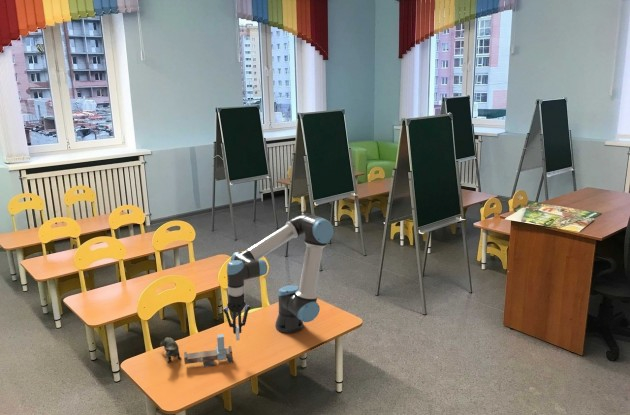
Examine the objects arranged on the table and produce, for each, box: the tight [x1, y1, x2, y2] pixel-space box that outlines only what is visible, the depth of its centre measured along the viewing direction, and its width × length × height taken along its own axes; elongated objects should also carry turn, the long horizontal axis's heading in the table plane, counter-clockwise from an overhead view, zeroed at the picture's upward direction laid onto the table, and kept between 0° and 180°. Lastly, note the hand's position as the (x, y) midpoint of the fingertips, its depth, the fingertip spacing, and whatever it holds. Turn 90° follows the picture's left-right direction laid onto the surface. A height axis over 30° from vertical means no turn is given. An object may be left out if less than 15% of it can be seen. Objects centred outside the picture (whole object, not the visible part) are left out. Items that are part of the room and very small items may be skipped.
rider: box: [215, 333, 227, 362], centre depth 237 cm, size 4×8×11 cm, turn 15°
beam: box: [183, 345, 234, 368], centre depth 237 cm, size 22×5×6 cm, turn 105°
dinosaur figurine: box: [159, 336, 182, 364], centre depth 241 cm, size 22×8×11 cm, turn 23°
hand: (237, 339), depth 238 cm, fingers closed
